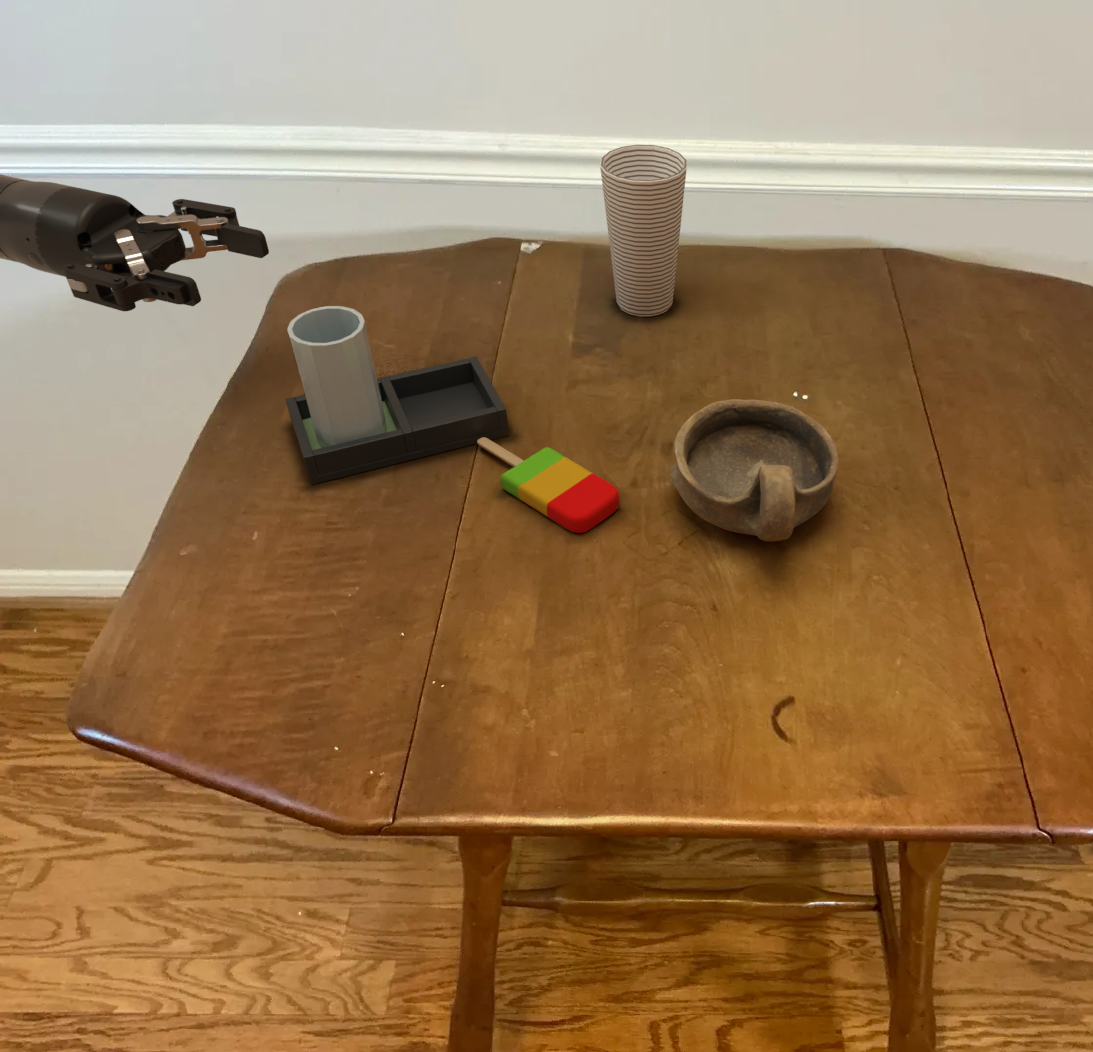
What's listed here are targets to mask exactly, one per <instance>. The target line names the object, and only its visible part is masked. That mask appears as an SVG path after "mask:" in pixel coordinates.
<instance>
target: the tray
mask: <svg viewBox="0 0 1093 1052" xmlns="http://www.w3.org/2000/svg"><path fill="white" fill-rule="evenodd" d="M377 381H378V386H379V391H380V395H381V400H382V405H383V410H384V414H385V419H386V426H387V430H386V433H382V434H378V435H373V436H369V437H365V438H361V439H357V440H353V441H348V442H344V443H340V444H336V445H332V446H327V447H322V446H321V445H320V444H319V443H318V441H317V438H316V434H315V431H314V428H313V424H312V420H311V417H310V413H309V409H308V405H307V402H306V398H305V394H301V395H296V396H290V397H287V398H285V404H286V406H287V410H288V414H289V417H290V420H291V424H292V427H293V430H294V433H295V437H296V440H297V443H298V447H299V450H300V453H301V456H302V460H303V462H304V466H305V469H306V472H307V476H308V478H309V481H310V484H311V485H316V484H321V483H325V482H329V481H333V480H337V479H341V478H344V477H349V476H351V475H356V474H360V473H365V472H368V471H372V470H376V469H380V468H385V467H388V466H389V467H390V466H393V465H396V464H400V463H405V462H409V461H413V460H417V459H420V458H424V457H429V456H433V455H437V454H441V453H446V452H449V451H454V450H458V449H461V448H465V447H469V446H473V445H476V444H477V445H478V443H477V441H478V440H479V439H480V438H483V437H485V438H488V439H489V440H491V441H492V440H493V441H494V440H496V439H501V438H505V437H508V436H509V435H510V432H509V421H508V415H507V408H506V407H505V405H504V402H503V401H502V399H501V398H500V395H499V394H498V392H497V390H496V389H495V387H494V385H493V383H492V381H491V379H490V378H489V376H488V374H487V372H486V371H485V369H484V367H483V365H482V364H481V362H480V360H479V358H478V356H476V355H475V356H472V357H468V358H467V357H466V358H463V359H462V358H461V359H459V360H454V361H448V362H444V363H440V364H436V365H431V366H426V367H422V368H417V369H413V370H408V371H403V372H400V373H399V372H398V373H395V374H391V375H386V376H382V377H377Z"/></svg>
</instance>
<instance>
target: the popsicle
mask: <svg viewBox="0 0 1093 1052" xmlns="http://www.w3.org/2000/svg"><path fill="white" fill-rule="evenodd" d="M477 445H478V446H479V447H480V448H482V449H484V450H485V451H487V452H489V453H490V454H492V455H494V456H495V457H497V458H498V459H500V460H502V461H503V462H505V463H506V464H508V465H510V466H511V468H510V469H509V470H507V471H506V472H504V473H502V474H501V475H500V477H499V482H500V486H501V489H503V490H505V491H506V492H508V493H509V494H510V495H512V496H514V497H515V498H517V499H519V500H520V501H522V502H523V503H525V504H527V505H528V506H529V507H532V508H533V509H534V510H536V511H537V512H539V513H541V514H542V515H544V516H545V517H547V518H548V519H550V520H552V521H553V522H555V523H556V524H558V525H560V526H561V527H562V528H564V529H566V530H568V531H569V532H572V533H576V534H582V533H585V532H588V531H589V530H591V529H593V528H595V527H596V526H597V525H598V524H600V523H601V522H603V521H604V520H605V519H607V518H608V517H611V515H612V514H614V513H615V512H616V511H617V509H618V508H619V506H620V493H619V490H618V489H617V487H616V486H615V485H613V484H612V483H610V482H609V481H607V480H605V479H603V478H602V477H600V476H599V475H597V474H596V473H593V472H592V471H591V470H589V469H587V468H585V467H583V466H581V465H580V464H579V463H577V462H575V461H574V460H572V459H569V458H568V457H566V456H565V455H563V454H561V453H560V452H558V451H556V450H554V449H553V448H551V447H549V446H546V447H545V446H544V447H543V448H541V449H540V450H539V451H537V452H535V453H534V454H532V455H530V456H529V457H527V458H526V459H522V458H520V456H517V455H516V454H514V453H512V452H511V451H509V450H507V449H505V448H504V447H502V446H501V445H499V444H497V442H494V441H492V440H489V439H488V438H485V437H483V438H480V439H479V440H478V441H477Z"/></svg>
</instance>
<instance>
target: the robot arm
mask: <svg viewBox="0 0 1093 1052" xmlns="http://www.w3.org/2000/svg"><path fill="white" fill-rule="evenodd" d="M171 204H172V207H173V210H174V211H173V212H171V213H170V214H168V215H163V214H155V215H153V214H152V215H151V214H150V215H149V214H144V213H143V212H142V211H140V210H139V209H138V208H137V207H136V206H135V205H134V204H132V203H131V202H130V201H128V200H127V199H125V198H123V197H121V196H118V195H114V194H109V193H105V192H100V191H95V190H90V189H86V188H82V187H77V186H72V185H67V184H64V183H63V184H62V183H58V182H52V181H33V180H29V179H24V178H20V177H15V176H11V175H5V174H1V173H0V259H1V260H5V261H9V262H14V263H19V264H22V265H25V266H27V267H29V268H32V269H34V270H37V271H40V272H44V273H47V274H52V275H56V276H61V277H63V278H66V281H67V284H68V286H69V288H70V291H71V293H72V295H73V297H74V298H77V299H80V300H82V301H85V302H90V303H93V304H95V305H100V306H104V307H107V308H111V309H113V310H117V311H120V312H130V311H133V310H134V309H136V307H137V305H136V303H137V302H139V301H142V302H144V303H152V302H155V301H157V300H158V301H162V302H166V303H170V304H174V305H185V306H189V307H195V306H196V305H198V304H199V303H201V301H202V297H201V294H200V290H199V288H198V283H197V282H196V280H195V279H194V278H192V277H190V276H186V275H182V274H177V273H175V272H169V271H167V270H168V269H169V268H170V266H172V265H174V264H176V263H179V262H180V261H189V260H199V259H204V258H206V256H207V254H208V253H209V252H219V251H226V250H227V252H231V253H235V254H240V255H244V256H248V257H253V258H258V259H263V258H265V257H266V256H268V255H269V253H270V250H269V246H268V242H267V238H266V235H265V234H264V232H263V231H261V230H260V229H255V228H251V227H246V226H242V225H240V223H239V219H238V214H237V210H236V208H235V207H232V206H226V205H220V204H215V203H209V202H203V201H197V200H192V199H186V198H178V199H174V200H172V202H171ZM180 230H181V231H182V232H187V233H188V235H190V238H191V242H192V244H193V246H190V247H186V244H185V241H184V238H183V235H182V233H181V231H180ZM203 235H205V236H210V237H211V236H212V237H216V238H217V239H209V240H208V239H205V238H204V236H203Z"/></svg>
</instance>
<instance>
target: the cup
mask: <svg viewBox="0 0 1093 1052" xmlns="http://www.w3.org/2000/svg"><path fill="white" fill-rule="evenodd" d="M599 168H600V176H601V184H602V185H601V186H602V192H603V201H604V209H605V217H606V218H605V219H606V225H607V234H608V242H609V250H610V259H611V267H612V273H613V275H612V276H613V283H614V291H615V300H616V301H615V302H616V304H617V306H618V307H619V309H620V310H621V311H623V312H624V313H625V314H628V315H632V316H636V317H655V316H660V315H661V314H664V313H666V312H668V310H669V309H670V308H671V307H672V306H673V302H674V292H675V283H676V275H677V264H678V255H679V254H678V253H679V246H680V234H681V226H682V225H681V224H682V217H683V208H684V199H685V198H684V197H685V187H686V178H687V169H688V160H687V159H686V158H685V157H684V156H683V154H681V153H680V152H678V151H677V150H674V149H671V148H669V147H665V146H660V145H656V144H632V145H626V146H625V145H624V146H620V147H618V148H614V149H611V150H609V151H608V152H607V153H605V154H604V155H603V156H602V157H601V158H600V163H599Z"/></svg>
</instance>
